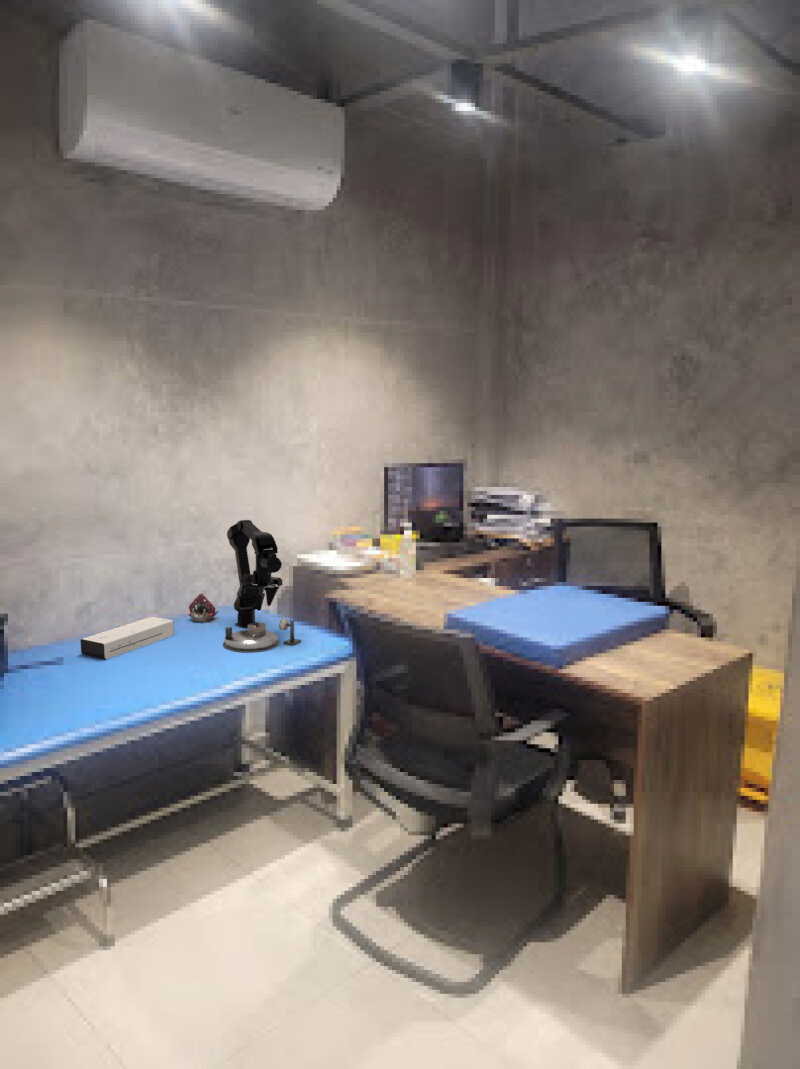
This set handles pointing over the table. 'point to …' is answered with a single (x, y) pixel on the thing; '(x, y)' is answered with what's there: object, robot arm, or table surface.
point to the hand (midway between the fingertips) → (264, 608)
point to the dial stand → (284, 626)
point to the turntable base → (251, 650)
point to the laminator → (127, 637)
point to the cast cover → (256, 629)
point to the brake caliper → (202, 610)
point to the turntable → (248, 640)
